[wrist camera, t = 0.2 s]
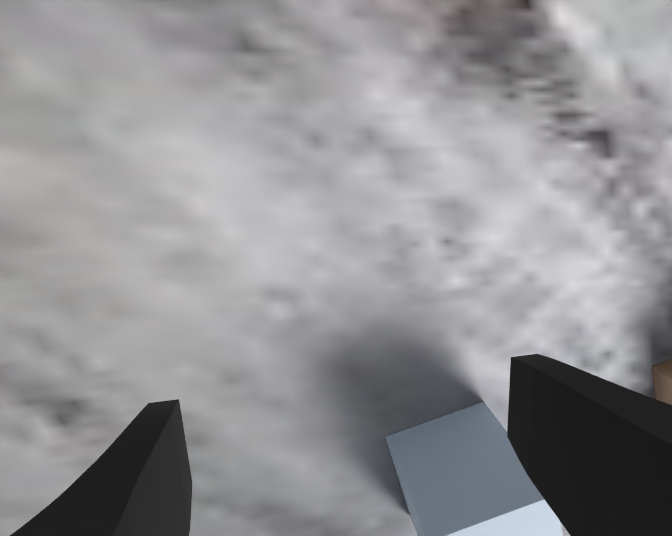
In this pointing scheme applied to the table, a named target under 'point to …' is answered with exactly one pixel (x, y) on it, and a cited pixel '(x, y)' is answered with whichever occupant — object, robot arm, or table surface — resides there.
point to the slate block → (468, 479)
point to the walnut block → (663, 381)
